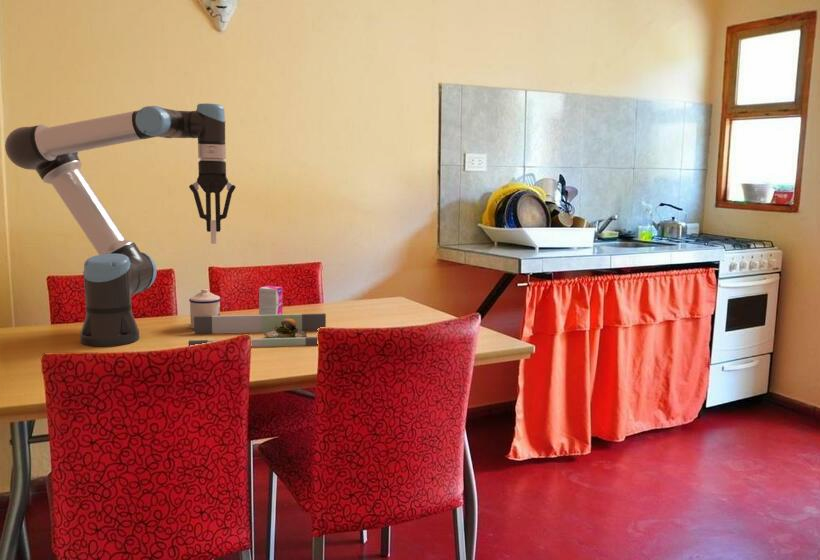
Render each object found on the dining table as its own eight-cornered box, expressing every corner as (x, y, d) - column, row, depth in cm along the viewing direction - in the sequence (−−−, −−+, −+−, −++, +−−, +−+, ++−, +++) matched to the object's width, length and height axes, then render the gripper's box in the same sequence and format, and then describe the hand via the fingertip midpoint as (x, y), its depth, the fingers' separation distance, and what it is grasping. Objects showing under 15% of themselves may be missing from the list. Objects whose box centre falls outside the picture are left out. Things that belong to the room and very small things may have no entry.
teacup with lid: (225, 328, 216) (224, 290, 214) (195, 331, 211) (194, 292, 210) (212, 320, 226) (211, 284, 224) (183, 323, 221) (182, 286, 220)
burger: (257, 338, 207) (257, 312, 206) (294, 332, 214) (294, 308, 213) (277, 346, 197) (277, 320, 196) (314, 341, 204) (314, 315, 203)
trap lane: (188, 348, 192) (188, 330, 191) (194, 332, 210) (194, 316, 209) (331, 344, 200) (331, 327, 199) (325, 329, 218) (325, 313, 217)
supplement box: (276, 325, 221) (276, 289, 220) (258, 324, 223) (257, 288, 221) (283, 321, 227) (283, 286, 225) (265, 320, 228) (265, 285, 226)
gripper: (186, 159, 198) (189, 244, 202) (235, 160, 201) (236, 244, 204) (189, 159, 205) (191, 241, 209) (236, 160, 208) (237, 241, 212)
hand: (213, 243), depth 207 cm, fingers closed
